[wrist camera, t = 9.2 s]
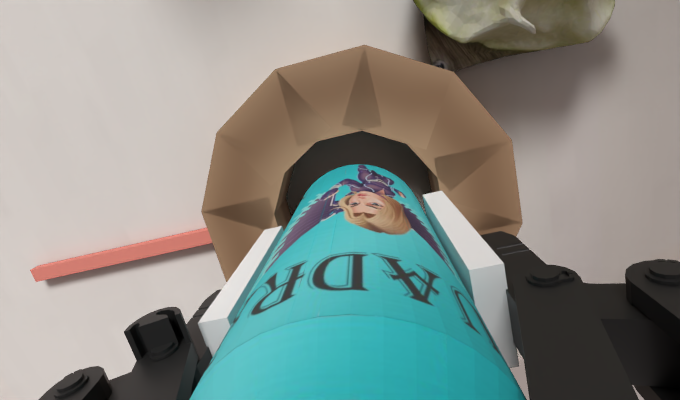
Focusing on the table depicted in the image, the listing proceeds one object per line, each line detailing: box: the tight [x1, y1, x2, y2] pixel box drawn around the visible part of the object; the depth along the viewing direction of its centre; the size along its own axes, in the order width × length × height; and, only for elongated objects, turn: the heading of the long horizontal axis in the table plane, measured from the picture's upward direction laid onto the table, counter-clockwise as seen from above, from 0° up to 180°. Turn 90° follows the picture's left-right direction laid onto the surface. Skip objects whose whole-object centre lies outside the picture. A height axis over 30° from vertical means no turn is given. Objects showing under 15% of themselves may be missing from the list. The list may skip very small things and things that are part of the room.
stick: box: [30, 228, 212, 282], centre depth 22 cm, size 1×13×1 cm, turn 103°
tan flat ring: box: [201, 45, 522, 282], centre depth 20 cm, size 15×15×3 cm
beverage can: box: [189, 164, 527, 400], centre depth 12 cm, size 6×6×15 cm
